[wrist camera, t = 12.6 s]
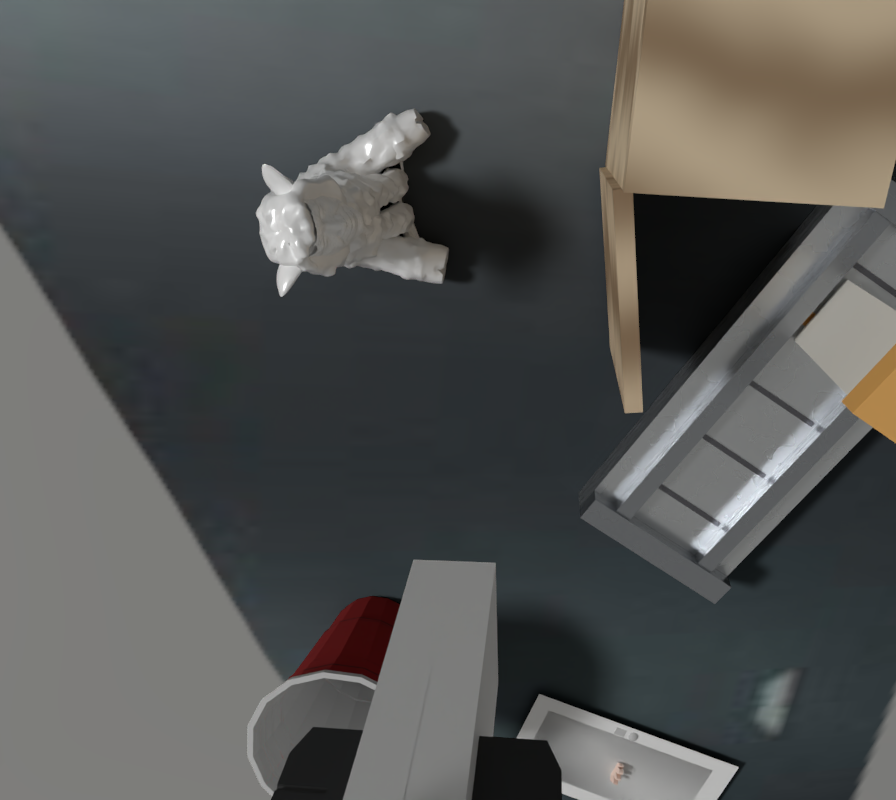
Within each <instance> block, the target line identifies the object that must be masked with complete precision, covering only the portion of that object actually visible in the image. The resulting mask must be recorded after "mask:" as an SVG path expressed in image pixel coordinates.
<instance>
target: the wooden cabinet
mask: <svg viewBox="0 0 896 800" xmlns="http://www.w3.org/2000/svg"><path fill="white" fill-rule="evenodd" d="M895 161H896V0H624V8H623V16H622V25H621V34H620V42H619V51H618V60H617V69H616V77H615V86H614V95H613V103H612V112H611V121H610V130H609V138H608V147H607V156H606V164H605V166H606V167H604V168H600V185H601V202H602V219H603V236H604V253H605V270H606V287H607V303H608V320H609V337H610V349H611V354H612V358H613V363H614V367H615V371H616V376H617V380H618V385H619V389H620V393H621V398H622V402H623V407H624V411H625V413H636V412H643V403H642V381H641V359H640V337H639V315H638V293H637V271H636V249H635V227H634V205H633V193H640V194H656V195H672V196H688V197H705V198H721V199H737V200H754V201H770V202H786V203H803V204H819V205H835V206H851V207H868V208H884V206H885V202H886V198H887V194H888V189H889V185H890V181H891V177H892V173H893V169H894V165H895Z"/></svg>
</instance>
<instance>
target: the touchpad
mask: <svg viewBox="0 0 896 800" xmlns="http://www.w3.org/2000/svg"><path fill="white" fill-rule="evenodd" d="M517 738H518V739H533V740H547V741H548V743H549V745H550V747H551V749H552V751H553V754H554V756H555V758H556V760H557V762H558V764H559V766H560V768H561V770H562V794H565V795H568V796H570V797H573V798H576V799H579V800H717V799H718V797H719V796H720V795H721V793H722V792H723V790H724V789H725V787H726V786H727V784H728V783H729V781H730V780H731V778H732V777H733V775H734V774H735V773H736V771H737V770H738V768H739V767H737V766H735V765H732V764H729V763H727V762H724V761H721V760H718V759H716V758H713V757H710V756H707V755H705V754H702V753H699V752H697V751H694V750H691V749H688V748H686V747H683V746H680V745H677V744H675V743H672V742H669V741H667V740H664V739H661V738H658V737H656V736H653V735H650V734H647V733H645V732H642V731H639V730H637V729H634V728H631V727H628V726H626V725H623V724H620V723H617V722H615V721H612V720H609V719H607V718H604V717H601V716H598V715H596V714H593V713H590V712H588V711H585V710H582V709H579V708H577V707H574V706H571V705H568V704H566V703H563V702H560V701H558V700H555V699H552V698H549V697H547V696H544V695H541V694H539V695H538V697H537V699H536V701H535V703H534V705H533V707H532V709H531V711H530V713H529V715H528V717H527V719H526V720H525V722H524V724H523V726H522V728H521V730H520V732H519V734H518V736H517Z"/></svg>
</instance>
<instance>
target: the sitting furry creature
mask: <svg viewBox="0 0 896 800" xmlns="http://www.w3.org/2000/svg"><path fill="white" fill-rule="evenodd" d="M429 136H430V131H429V128H428V126H427V125H426V124H425V123H424V122H423V118H422V116H421V115H420V114H419V113H418V112H417V110H416V109H411V110H406V111H404V112H402V113H400V114H398V115H395V114H393V113H390V114H388V115H387V116H386V117H385V118H384V119H383V120H382V121H381V122H378V123H376V124H375V126H374V127H373V129H371V130H370V131H369V132H367V133H366V134H364V135H359V136H358V137H357V138H356V139H355V140H354V141H352V142H351V143H350V144H346V145H345V146H342V147H341V148H340V150H339V152H338V153H329V154H328V155H327V156H325V157H323V158H321V159H320V160H319V161H318V163H317V164H314V165H310V166H309V167H308V171H307V172H306V173H300V174H299V176H298V178H297V181H295V182H294V181H292V180H291V179H289V178H287V177H286V176H284V175H282V174H281V173H280V172H278V171H277V170H276V169H275V168H273V167H272V166H269V165H267V164H263V166H262V175H263V178H264V180H265V182H266V184H267V185H268V187H269V188H270V189H271V192H270V193H269V194H267V195H266V196H265V197H264V198H263V199H262V202H261V205H260V206H259V208H258V209H257V212H256V216H257V218H258V219H259V223H260V232H259V234H260V236H261V240H262V244H263V247H264V249H265V252H266V254H267V256H268V258H269V259H270V260H271V261H272V262H274V263H279V264H280V265H279V268H278V271H277V287H278V291H279V294H280V297H282V296H284V295H285V294H286V293H287V292H288V291H289V289H290V288H291V287H292V285H293V284H294V283H295V281H296V280H297V278H298V277H299V275H300V274H301V273H302V271H307V272H309V273H311V274H316V275H323V276H332V275H334V274H335V271H336V268H337V267H341V266H345V267H347V268H352V267H355V266H360V267H364V268H371V269H373V270H375V271H378V270H383V271H386V272H391V273H393V274H395V275H400V276H401V277H402V279H406V280H409V279H416V280H419V281H425V282H430V283H438V284H442V283H443V281H444V277H445V273H446V264H447V261H448V253H449V248H448V247H445V246H443V245H441V244H433V243H430V242H427V241H425V240H424V239H423V238H419V235H418V233H417V230H416V227H415V225H414V219H415V216H414V213H413V208H412V206H410V205H409V204H406V203H402V197H403V196H404V195H405V194H406V192H407V191H408V188H409V186H408V185H407V181H408V176H407V174H406V173H405V172H404V166H403V161H405V160H406V159H407V158H409V157H410V156H411V155H412V152H413V150H415V148H416V147H418V146H419V145H421V144H422V143H424V142H425V141H426V139H427V138H428V137H429ZM399 162H400V166H401V170H400V169H398V168H392V169H391V168H389V167H390V166H394V165H397V164H398V163H399ZM385 168H386V170H384V172H383V174H381V172H382V170H383V169H385ZM397 201H399V202H398V203H396V202H397ZM389 202H391V203H394V204H392V205H390V207H389V208H387V209H384V210H382V211H380V208H381V207H382V206H386V205H387V204H388V203H389ZM402 233H403V237H402V236H399V234H402Z"/></svg>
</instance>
